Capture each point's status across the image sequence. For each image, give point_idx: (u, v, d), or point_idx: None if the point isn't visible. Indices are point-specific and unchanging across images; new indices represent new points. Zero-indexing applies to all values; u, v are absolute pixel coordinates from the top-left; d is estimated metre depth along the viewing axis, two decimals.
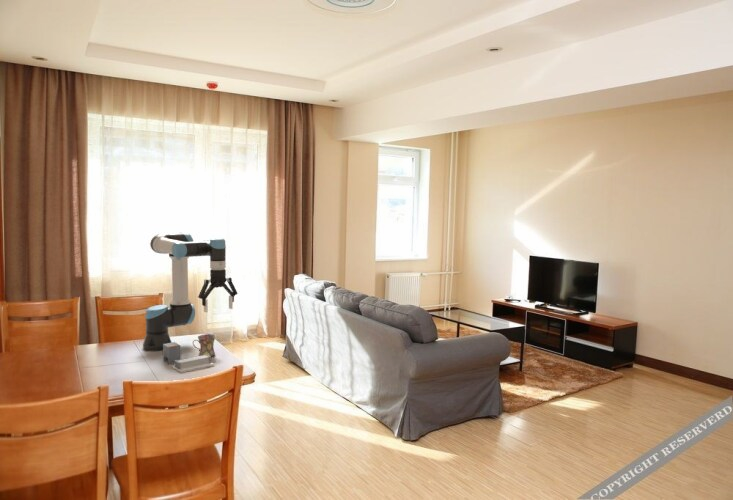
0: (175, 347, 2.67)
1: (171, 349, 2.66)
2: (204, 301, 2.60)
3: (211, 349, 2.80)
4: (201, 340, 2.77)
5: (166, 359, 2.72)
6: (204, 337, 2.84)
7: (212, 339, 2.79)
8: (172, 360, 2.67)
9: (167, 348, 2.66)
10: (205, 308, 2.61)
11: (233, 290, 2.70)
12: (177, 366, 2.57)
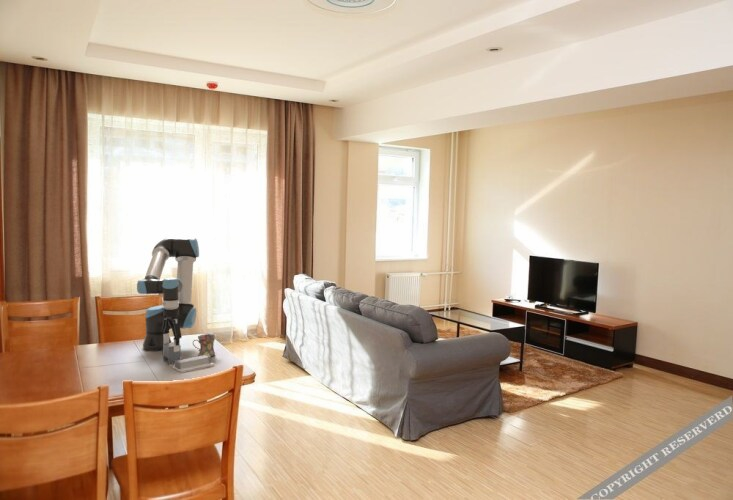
0: None
1: (171, 349, 2.66)
2: None
3: (211, 349, 2.80)
4: (201, 340, 2.77)
5: (166, 359, 2.72)
6: (204, 337, 2.84)
7: (212, 339, 2.79)
8: (172, 360, 2.67)
9: (167, 348, 2.66)
10: None
11: None
12: (177, 366, 2.57)
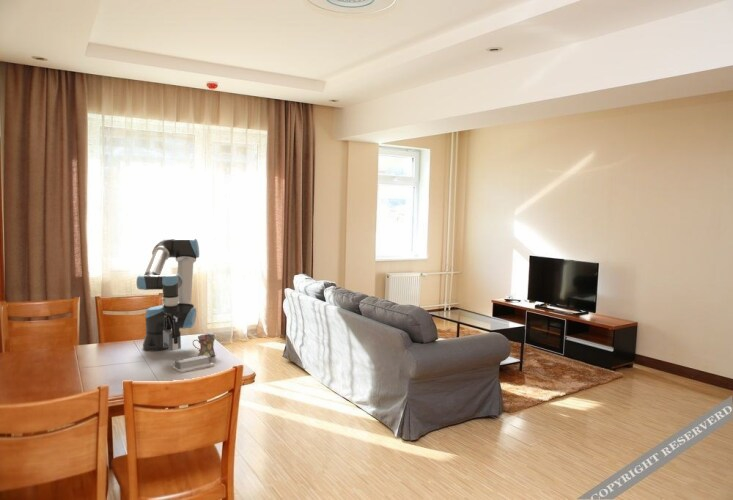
0: None
1: (171, 335, 2.66)
2: None
3: (211, 349, 2.80)
4: (201, 340, 2.77)
5: (166, 345, 2.72)
6: (204, 337, 2.84)
7: (212, 339, 2.79)
8: None
9: (167, 334, 2.66)
10: None
11: None
12: (177, 366, 2.57)
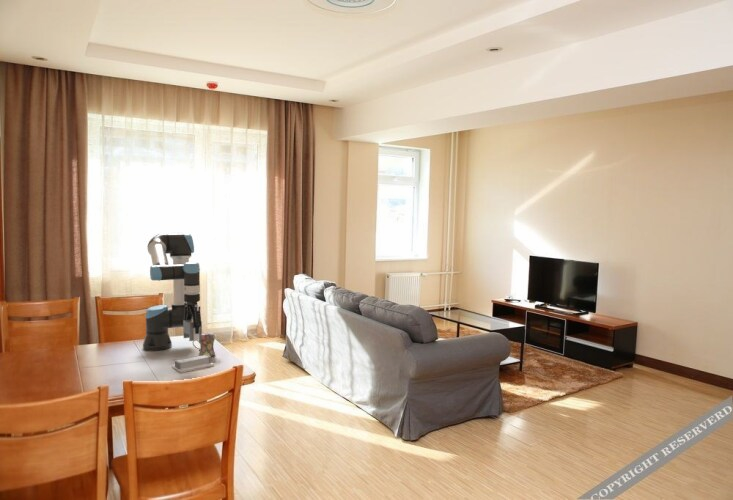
0: None
1: (192, 325, 2.57)
2: None
3: (211, 349, 2.80)
4: (201, 340, 2.77)
5: (186, 336, 2.63)
6: (204, 337, 2.84)
7: (212, 339, 2.79)
8: None
9: (188, 324, 2.58)
10: None
11: None
12: (177, 366, 2.57)
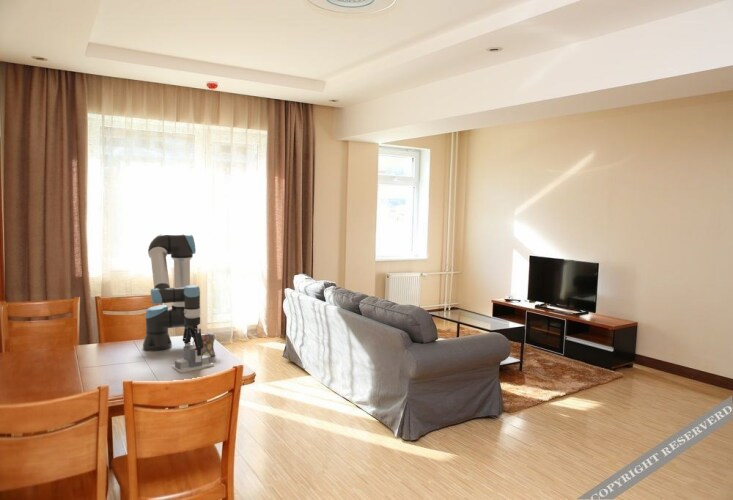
0: None
1: (192, 352, 2.58)
2: None
3: (211, 349, 2.80)
4: None
5: None
6: (204, 337, 2.84)
7: (212, 339, 2.79)
8: (194, 363, 2.59)
9: (188, 351, 2.59)
10: None
11: None
12: (177, 366, 2.57)
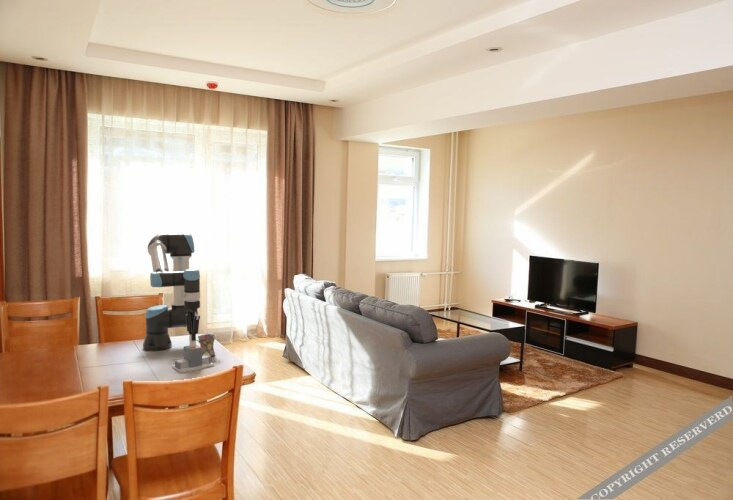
0: (196, 350, 2.60)
1: (192, 352, 2.58)
2: None
3: (211, 349, 2.80)
4: (201, 340, 2.77)
5: None
6: (204, 337, 2.84)
7: (212, 339, 2.79)
8: (194, 363, 2.59)
9: (188, 351, 2.59)
10: None
11: None
12: (177, 366, 2.57)
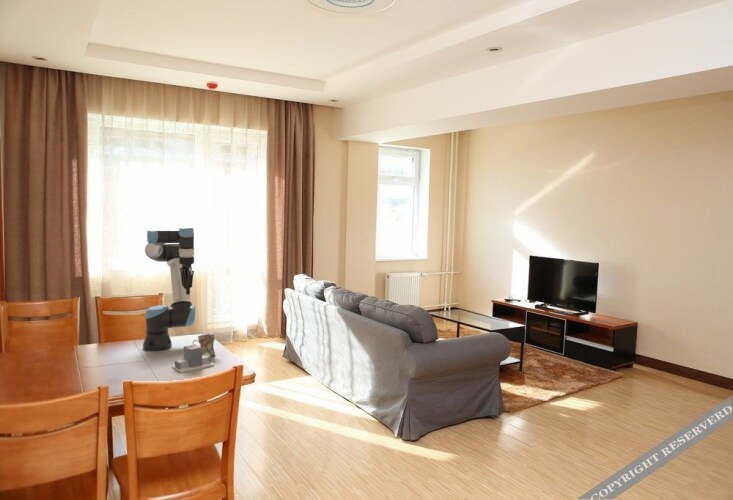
0: (196, 350, 2.60)
1: (192, 352, 2.58)
2: None
3: (211, 349, 2.80)
4: (201, 340, 2.77)
5: None
6: (204, 337, 2.84)
7: (212, 339, 2.79)
8: (194, 363, 2.59)
9: (188, 351, 2.59)
10: None
11: None
12: (177, 366, 2.57)
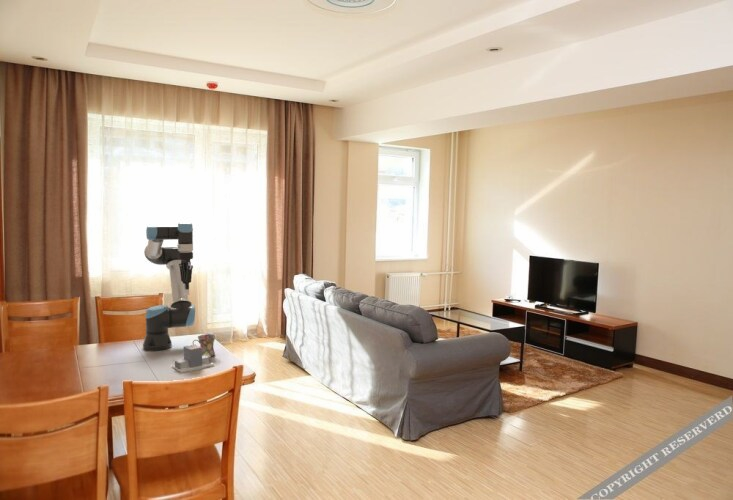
0: (196, 350, 2.60)
1: (192, 352, 2.58)
2: None
3: (211, 349, 2.80)
4: (201, 340, 2.77)
5: None
6: (204, 337, 2.84)
7: (212, 339, 2.79)
8: (194, 363, 2.59)
9: (188, 351, 2.59)
10: None
11: None
12: (177, 366, 2.57)
